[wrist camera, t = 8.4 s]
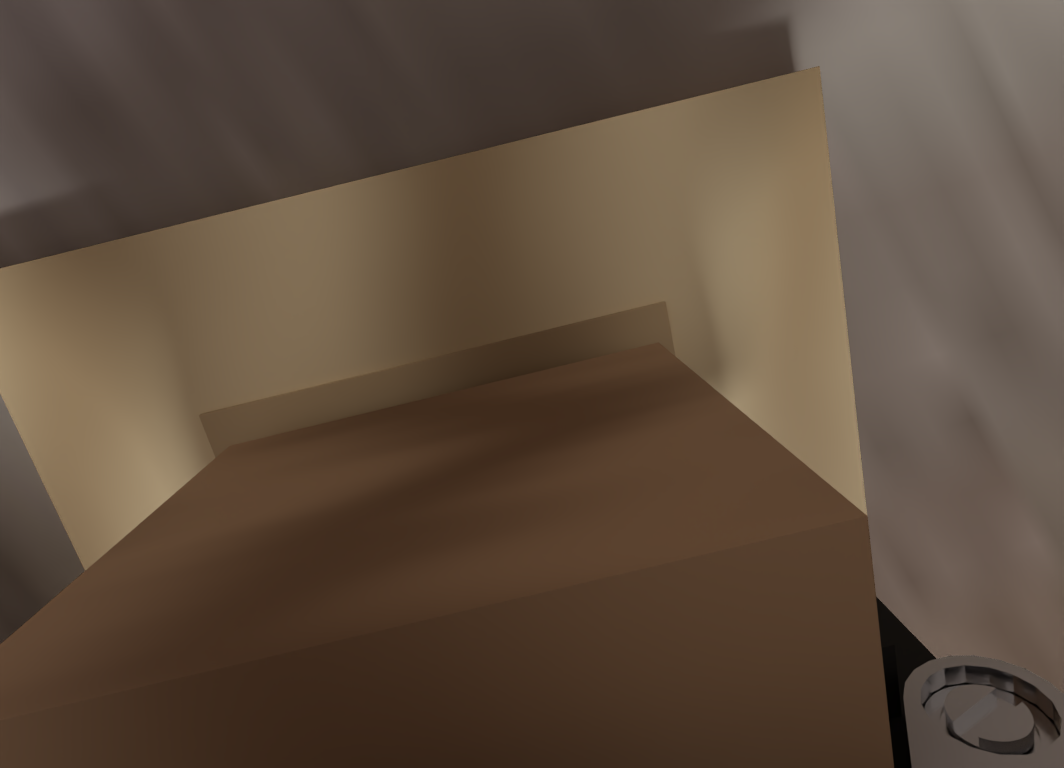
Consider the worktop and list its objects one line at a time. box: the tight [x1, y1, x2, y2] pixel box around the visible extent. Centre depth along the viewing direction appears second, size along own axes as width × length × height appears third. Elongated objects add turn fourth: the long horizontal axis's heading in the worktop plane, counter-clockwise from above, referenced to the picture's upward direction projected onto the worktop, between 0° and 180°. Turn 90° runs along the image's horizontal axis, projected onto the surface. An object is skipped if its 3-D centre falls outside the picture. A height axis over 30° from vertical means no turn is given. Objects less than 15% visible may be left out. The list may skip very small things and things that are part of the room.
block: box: [0, 342, 894, 768], centre depth 8 cm, size 7×7×6 cm
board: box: [0, 66, 867, 571], centre depth 12 cm, size 14×14×1 cm
